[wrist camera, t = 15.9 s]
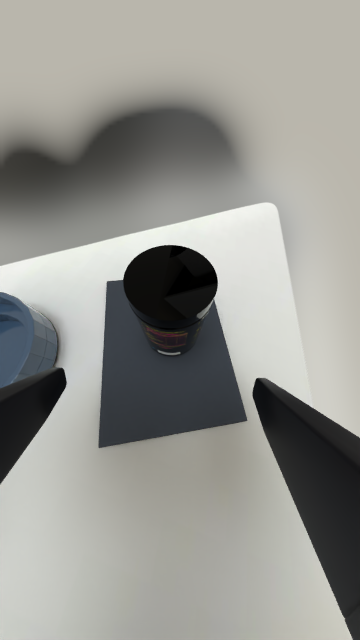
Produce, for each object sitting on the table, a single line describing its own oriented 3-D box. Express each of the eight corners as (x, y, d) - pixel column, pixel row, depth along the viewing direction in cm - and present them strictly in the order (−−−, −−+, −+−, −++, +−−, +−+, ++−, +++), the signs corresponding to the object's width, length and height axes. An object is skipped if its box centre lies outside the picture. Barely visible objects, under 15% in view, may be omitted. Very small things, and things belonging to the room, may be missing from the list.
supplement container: (196, 308, 23) (212, 244, 13) (200, 357, 20) (224, 320, 11) (146, 309, 23) (127, 244, 13) (144, 359, 20) (116, 321, 10)
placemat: (245, 420, 18) (247, 420, 17) (100, 446, 16) (98, 448, 16) (206, 274, 26) (206, 272, 26) (108, 283, 25) (106, 281, 24)
